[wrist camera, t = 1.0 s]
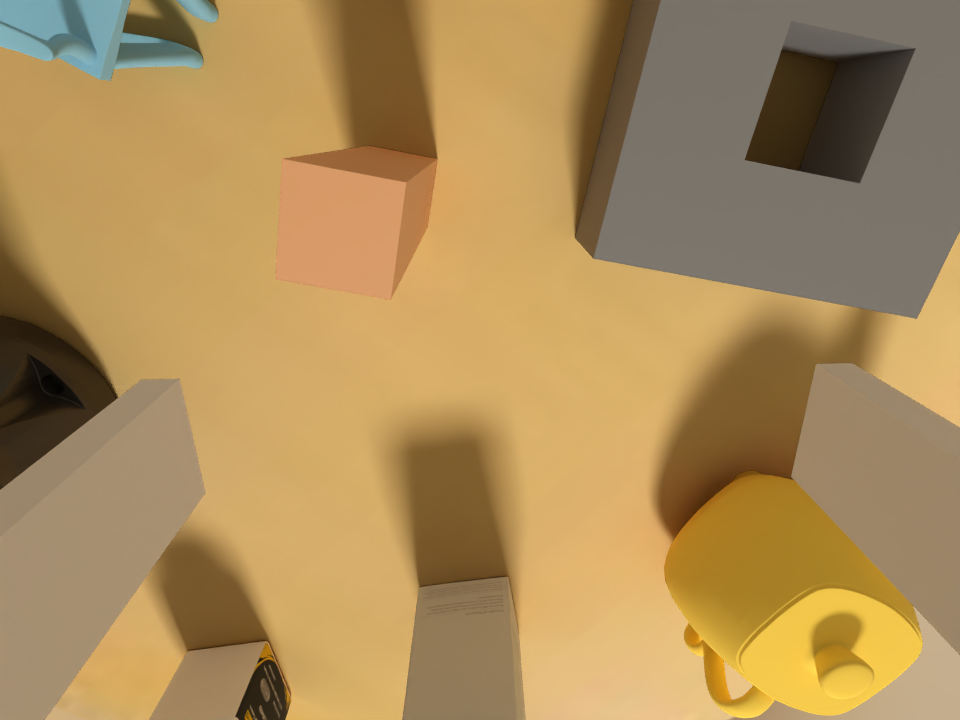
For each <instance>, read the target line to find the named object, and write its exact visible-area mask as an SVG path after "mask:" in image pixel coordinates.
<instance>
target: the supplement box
mask: <svg viewBox="0 0 960 720" xmlns="http://www.w3.org/2000/svg"><path fill="white" fill-rule="evenodd" d="M402 720H526V718H525V706H524V693H523V682H522V670H521V654H520V642H519V634H518V627H517V621H516V615H515V610H514V604H513V599H512V594H511V588H510V583H509V578H508V577H498V578H489V579H481V580H472V581H463V582H455V583H446V584H439V585H430V586H424V587H421V588H419V591H418V598H417V606H416V614H415V622H414V630H413V638H412V646H411V654H410V663H409V671H408V679H407V687H406V696H405V703H404V711H403V719H402Z"/></svg>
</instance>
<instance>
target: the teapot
mask: <svg viewBox="0 0 960 720" xmlns="http://www.w3.org/2000/svg"><path fill="white" fill-rule="evenodd" d="M664 572H665V581H666V584H667V586H668V589H669V591H670V593H671V595H672V598H673V599H674V601H675V603H676V604H677V606H678V608H679V609H680V610H681V612H682V613H683V615H684V616H685V618H686V619H687V621H688V622H689V624H688V625H687V627H686V629H685V632H684V639H685V642H686V645H687V646H688V648H689V649H690V650H691V651H692V652H693V653H694V654H696V655H699V656H704V669H705V677H706V683H707V687H708V691H709V693H710V695H711V697H712V699H713V701H714V702H715V704H716V705H717V706H718V707H719V708H720V709H722V710H723V711H724V712H726V713H728V714H730V715H732V716H735V717H739V718H751V717H755V716H758V715H760V714H762V713H763V712H765V711H766V710H767V709H768V708H769V707H770V705H771V704H772V703H773V702H774V700H777V701H779V702H781V703H783V704H785V705H788V706H791V707H793V708H796V709H799V710H802V711H805V712H809V713H813V714H818V715H838V714H842V713H845V712H847V711H849V710H851V709H853V708H855V707H856V706H858V705H860V704H861V703H863V702H865V701H866V700H868V699H869V698H871V697H872V696H873V695H875V694H876V693H878V692H879V691H880V690H882V689H883V688H884V687H886V686H887V685H888V684H890V683H891V682H892V681H893V680H895V679H896V678H897V677H898V676H900V674H902V673H903V672H904V671H905V670H906V669H907V668H908V667H909V666H910V665H911V664H912V663H913V662H914V661H915V660H916V658H918V656H919V655H920V652H921V650H922V643H923V641H922V636H921V632H920V628H919V623H918V621H917V617H916V614H915V610H914V608H913V605H912V604H911V603H910V602H909V601H908V600H907V599H906V598H905V597H904V596H903V594H902V593H901V592H900V591H899V590H898V589H897V588H896V587H895V586H894V585H893V584H892V583H891V582H890V581H889V580H888V579H887V578H886V576H885V575H884V574H883V573H882V572H881V571H880V570H879V569H878V568H877V567H876V566H875V565H874V564H873V563H872V562H871V561H870V560H869V559H868V557H867V556H866V555H865V554H864V553H863V552H862V551H861V550H860V549H859V548H858V547H857V546H856V545H855V544H854V543H853V542H852V541H851V539H850V538H849V537H848V536H847V535H846V534H845V533H844V532H843V531H842V530H841V529H840V528H839V527H838V526H837V525H836V524H835V523H834V521H833V520H832V519H831V518H830V517H829V516H828V515H827V514H826V513H825V512H824V511H823V510H822V509H821V508H820V507H819V506H818V505H817V504H816V502H815V501H814V500H813V499H812V498H811V497H810V496H809V495H808V494H807V493H806V492H805V491H804V490H803V489H802V488H801V487H800V486H799V484H798V483H797V482H796V481H795V480H792V479H787V478H783V477H778V476H773V475H762V474H761V473H760V472H757V471H752V470H751V471H745V472H742V473H740V474H739V475H737V476H736V477H735V478H734V479H733V481H732V482H731V483H730V484H729V485H727V486H726V487H724V488H723V489H722V490H720V491H719V492H718V493H717V494H716V495H715V496H713V497H712V498H711V499H710V500H709V501H708V502H707V503H705V504H704V505H703V506H702V507H701V508H700V509H699V510H698V511H697V512H696V513H695V514H694V515H693V516H692V518H691V519H690V520H689V521H688V522H687V523H686V524H685V526H684V527H683V528H682V529H681V530H680V532H679V533H678V535H677V536H676V537H675V539H674V540H673V542H672V544H671V547H670V549H669V551H668V554H667V557H666V561H665V566H664ZM724 661H725V662H726V663H728V664H729V665H730V666H731V667H732V668H733V669H734V670H736V671H737V672H738V673H739V674H740V675H741V676H743V677H744V678H745V679H746V680H747V681H749V682H750V683H751V684H753V687H752V688H751V689H750V690H749V691H748V692H747V693H746V694H745V695H744V696H742V697H740V698H738V699H735V700H732V699H731V697H730V695H729V692H728V688H727V684H726V677H725V668H724Z"/></svg>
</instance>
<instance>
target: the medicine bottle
mask: <svg viewBox="0 0 960 720" xmlns="http://www.w3.org/2000/svg"><path fill="white" fill-rule="evenodd" d="M290 703H291V696H290V693H289V691H288V689H287V686H286V684H285V681H284V679H283V676H282V674H281V671H280V669H279V667H278V664H277V662H276V659H275V657H274V654H273V652H272V649H271V647H270V645H269V643H268V642H267V641H261V642H254V643H246V644H239V645H231V646H223V647H216V648H208V649H200V650H193V651H188V652H187V653H186V654H185V656H184V658H183V660H182V662H181V663H180V665H179V667H178V669H177V671H176V672H175V674H174V676H173V678H172V680H171V681H170V683H169V685H168V687H167V689H166V690H165V692H164V694H163V696H162V698H161V699H160V701H159V703H158V705H157V707H156V708H155V710H154V712H153V714H152V716H151V717H150V719H149V720H285V719H286V716H287V713H288V710H289V706H290Z"/></svg>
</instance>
